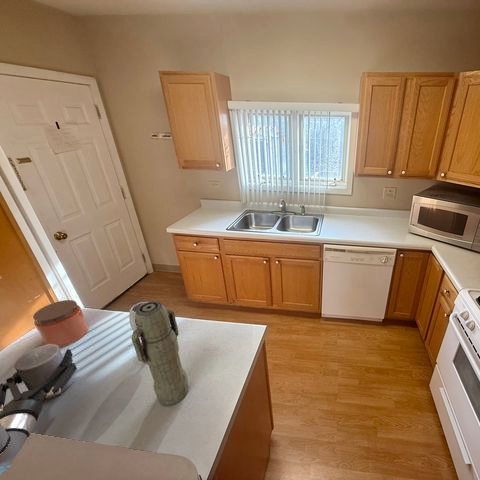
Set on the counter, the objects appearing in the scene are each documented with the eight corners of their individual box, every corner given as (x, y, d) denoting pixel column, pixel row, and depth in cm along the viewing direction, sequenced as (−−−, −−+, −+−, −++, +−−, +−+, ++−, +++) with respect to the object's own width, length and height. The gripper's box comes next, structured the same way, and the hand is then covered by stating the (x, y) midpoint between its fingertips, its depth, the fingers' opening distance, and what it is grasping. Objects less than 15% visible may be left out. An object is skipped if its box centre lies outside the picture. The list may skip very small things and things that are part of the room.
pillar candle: (24, 405, 77) (1, 370, 71) (44, 377, 85) (25, 344, 79) (64, 396, 80) (46, 362, 74) (80, 370, 88) (64, 337, 82)
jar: (36, 350, 95) (20, 323, 90) (59, 326, 107) (47, 301, 102) (77, 345, 98) (64, 319, 93) (95, 322, 110) (85, 297, 105)
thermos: (147, 407, 78) (114, 318, 64) (175, 374, 89) (153, 291, 74) (171, 415, 76) (143, 325, 62) (197, 380, 87) (178, 297, 73)
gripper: (-42, 454, 61) (5, 379, 79) (77, 412, 71) (96, 353, 89) (-60, 436, 58) (-6, 362, 76) (67, 394, 68) (88, 337, 86)
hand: (49, 357), depth 83 cm, fingers closed on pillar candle, 9 cm apart
